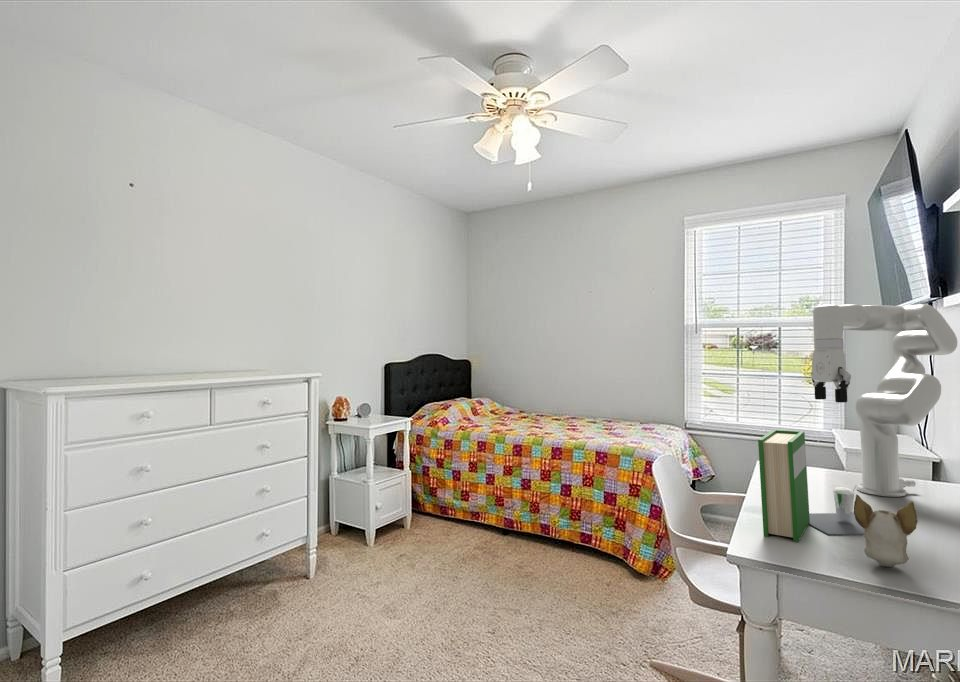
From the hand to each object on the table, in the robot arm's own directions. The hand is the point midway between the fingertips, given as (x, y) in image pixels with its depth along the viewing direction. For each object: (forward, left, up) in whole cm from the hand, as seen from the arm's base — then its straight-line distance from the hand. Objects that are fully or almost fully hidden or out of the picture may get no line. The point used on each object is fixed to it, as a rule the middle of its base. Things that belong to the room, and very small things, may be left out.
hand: (830, 400), depth 158 cm
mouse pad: (+11, +22, -30) cm, 39 cm away
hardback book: (+28, +25, -30) cm, 49 cm away
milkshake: (+11, +22, -30) cm, 39 cm away
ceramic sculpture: (+21, +49, -31) cm, 61 cm away
